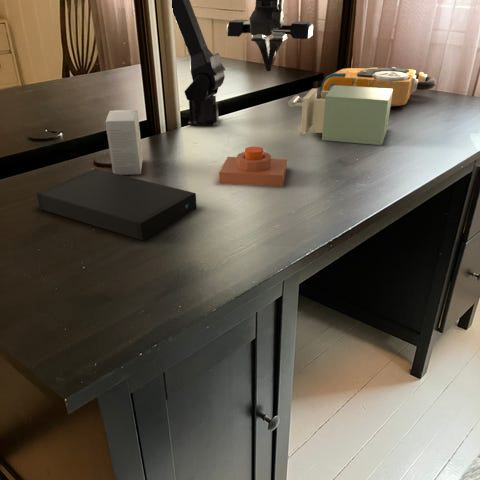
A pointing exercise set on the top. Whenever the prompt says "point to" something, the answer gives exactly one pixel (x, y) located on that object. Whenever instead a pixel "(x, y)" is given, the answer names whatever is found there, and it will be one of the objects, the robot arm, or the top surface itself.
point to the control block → (253, 171)
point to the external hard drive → (118, 203)
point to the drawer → (311, 110)
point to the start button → (254, 153)
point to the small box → (124, 142)
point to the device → (382, 81)
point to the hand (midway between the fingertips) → (268, 71)
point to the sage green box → (356, 114)
